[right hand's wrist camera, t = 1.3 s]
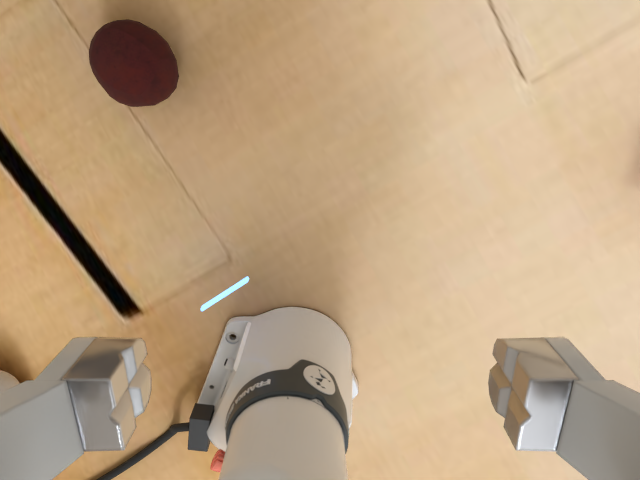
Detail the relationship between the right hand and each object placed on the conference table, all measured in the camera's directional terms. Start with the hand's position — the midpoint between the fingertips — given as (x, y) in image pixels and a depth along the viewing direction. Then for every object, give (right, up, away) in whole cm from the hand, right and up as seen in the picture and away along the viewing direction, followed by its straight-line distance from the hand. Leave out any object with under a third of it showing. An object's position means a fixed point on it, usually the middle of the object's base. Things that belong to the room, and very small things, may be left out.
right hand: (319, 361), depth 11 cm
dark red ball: (-17, +20, +34) cm, 43 cm away
